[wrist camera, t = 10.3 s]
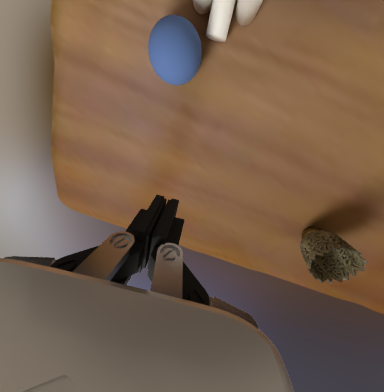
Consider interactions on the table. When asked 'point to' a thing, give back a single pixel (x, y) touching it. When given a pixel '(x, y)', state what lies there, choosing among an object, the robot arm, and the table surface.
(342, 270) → the cup
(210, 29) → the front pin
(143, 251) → the robot arm
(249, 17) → the pin
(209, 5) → the pin
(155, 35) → the ball
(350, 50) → the table surface
